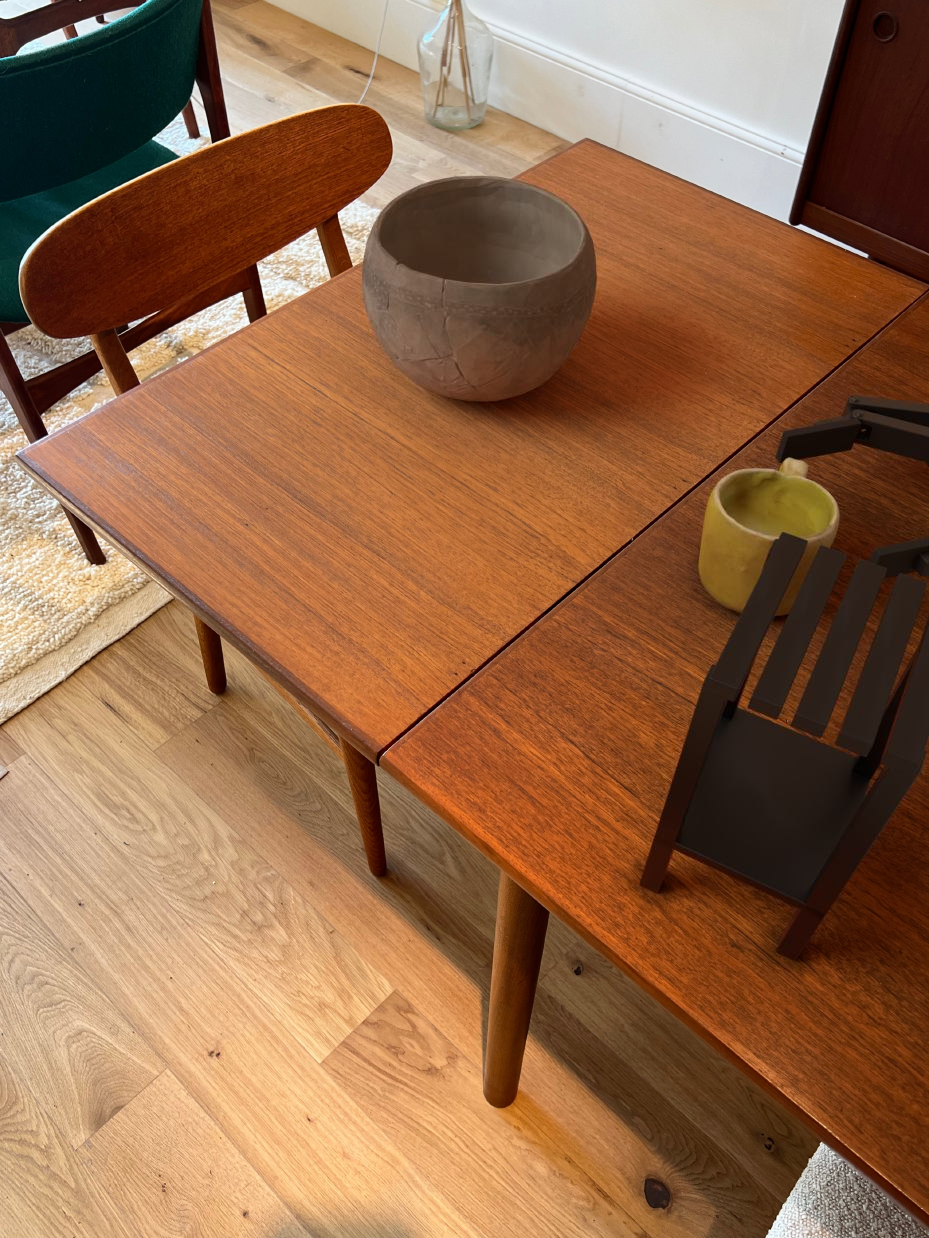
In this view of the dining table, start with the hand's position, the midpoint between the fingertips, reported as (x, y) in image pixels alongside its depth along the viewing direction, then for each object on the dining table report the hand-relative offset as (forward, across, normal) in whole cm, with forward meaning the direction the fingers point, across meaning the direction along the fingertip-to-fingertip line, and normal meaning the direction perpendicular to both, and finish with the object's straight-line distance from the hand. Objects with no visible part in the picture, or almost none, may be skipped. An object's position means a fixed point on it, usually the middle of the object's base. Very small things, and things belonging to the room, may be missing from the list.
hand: (823, 503), depth 75 cm
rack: (+16, -22, -6) cm, 28 cm away
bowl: (+18, +31, -6) cm, 36 cm away
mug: (+4, 0, -6) cm, 7 cm away
